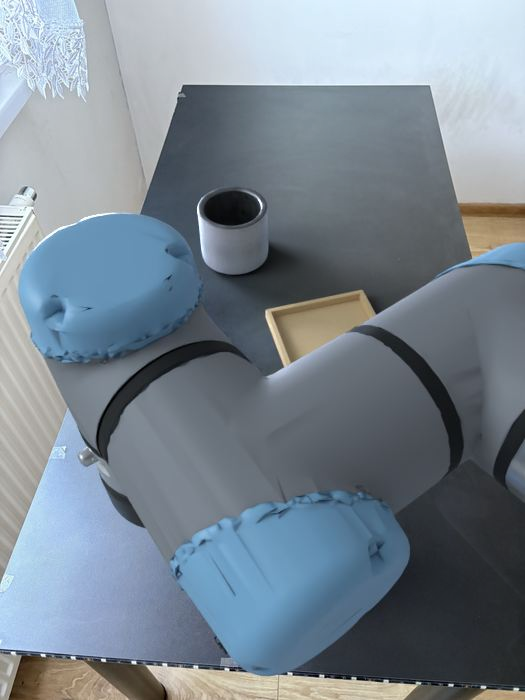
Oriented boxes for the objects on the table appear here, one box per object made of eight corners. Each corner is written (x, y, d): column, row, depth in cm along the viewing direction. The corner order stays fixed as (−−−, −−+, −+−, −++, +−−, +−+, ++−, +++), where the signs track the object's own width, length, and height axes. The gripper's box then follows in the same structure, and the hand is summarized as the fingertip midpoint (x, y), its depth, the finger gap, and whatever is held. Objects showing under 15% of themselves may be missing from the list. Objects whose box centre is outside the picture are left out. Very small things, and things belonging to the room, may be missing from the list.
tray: (412, 392, 92) (414, 385, 91) (303, 418, 89) (303, 411, 88) (361, 297, 106) (362, 289, 104) (265, 317, 103) (265, 309, 101)
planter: (281, 257, 113) (282, 209, 104) (228, 287, 108) (224, 239, 99) (241, 225, 119) (239, 177, 110) (189, 252, 114) (182, 203, 106)
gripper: (23, 347, 41) (94, 488, 58) (215, 675, 28) (237, 738, 44) (121, 302, 44) (162, 449, 60) (338, 581, 31) (316, 673, 47)
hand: (194, 572), depth 52 cm, fingers open, 13 cm apart
